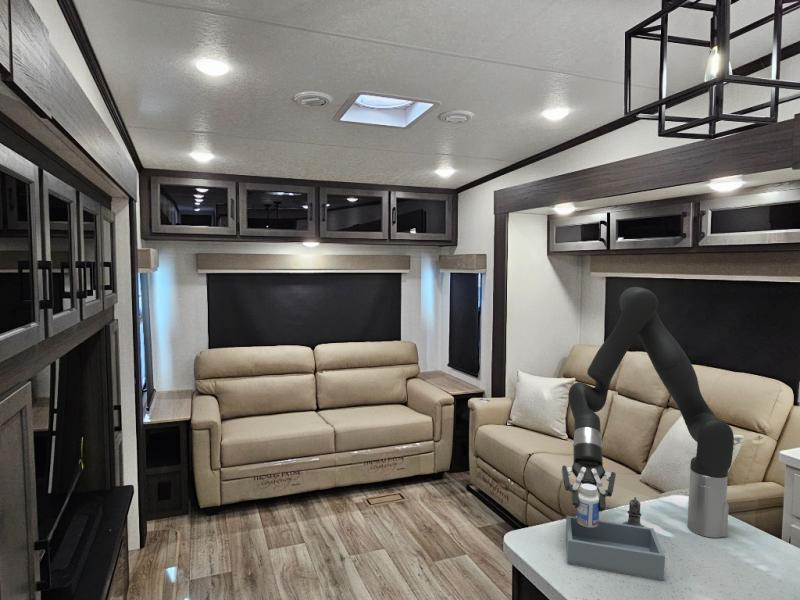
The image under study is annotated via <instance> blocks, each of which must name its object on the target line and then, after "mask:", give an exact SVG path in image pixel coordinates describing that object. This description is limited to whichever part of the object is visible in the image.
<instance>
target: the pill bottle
mask: <svg viewBox="0 0 800 600" xmlns="http://www.w3.org/2000/svg"><path fill="white" fill-rule="evenodd" d="M576 517H577V522H578V523H579V524H580V525H582V526H585V527H591V528H593V527H597V526H598V524H599V520H600V511H599V494H598V491H597V487H596V486H594V485H592V484H582V483H581V485H580V492H578V508H576Z"/></svg>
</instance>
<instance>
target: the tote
mask: <svg viewBox="0 0 800 600" xmlns="http://www.w3.org/2000/svg"><path fill="white" fill-rule="evenodd" d="M565 523H566V524H565V547H566V561H567V562H566V563H567V565H572V566H577V567H584V568H589V569H596V570H599V571H600V570H601V571H607V572H613V573H618V574H624V575H629V576H630V575H631V576H634V577H635V576H636V577H642V578H648V579H653V580H659V581H664V580H665V568H666V567H665V563H666V555H665V553H664V549H663V548H662V546H661V543H660V541H659V539H658V536H657V533H656V531H655V528H652V527H648V526H647V527H646V526H644V527H641V526H634V525H627V524H623V523H620V522H612V521H606V520H600V519H599V524H598V526H597V527H593V528H591V527H585V526H582V525H580V524H579V523H578V522H577V516H571V515H566V522H565Z"/></svg>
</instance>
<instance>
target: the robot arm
mask: <svg viewBox="0 0 800 600" xmlns="http://www.w3.org/2000/svg"><path fill="white" fill-rule="evenodd" d="M618 302H619V303H618V304H619V308H620V311H621V313H620V316H619V317H618V318H619V319H618V321H617V323H616V324H615V326H614V329H613V330H612V332H611V333H610V335H609V336H608V337H607V338H606V340H604V341H603V343H602V344H601V346H600V347H599V349H598V350H597V352H596V354H595V356H594V357H593V358H592V359H593V360H592V361H591V362H590V364H589V366H588V369H587V371H586V372H587V373H586V374H587V375H588V376H589V378H591V379H592V380H594V382H595V385H594V386H592V385H588V384H586V383H584V382H581V381H580V382H578V381H576V382H575V383H573V384H572V385H571V386H570V387H569V390H568V397H567V398H568V404H569V406H570V410H571V413H572V417H573V419H574V428H573V429H574V435H573V444H572V447H573V464H572V466H567V465H562V467H561V474H562V479H563V481H562V482H563V485H564V486H563V487H564V489H565V490H566V491H569V492H571V504H572V506H574V508H576V509H577V508H578V494H579V488H581V485H582V484H592V485H594V486H596V487H597V494H598V497H599V513H602V512H603V511H604V510H605V509H606V498H607V497H609V498H610V497H612V495H613V493H614V488H615V481H616V476H617V475H616V472H614V471H611V472H609V471H606V469H605V468H604V466H603V465H604V463H603V462H604V461H603V460H604V459H603V440H602V436H601V435H602V434H601V420H600V416H599V415H598V414H597V413H598V412H600V411H602V410H603V408H604V407H605V406H606V403H607V398H608V393H609V389H610V385H611V382H612V379H613V377H614V375H615V374H616V371H617V370H618V369H619V366H620V365H621V362H622V361H623V360H624V357H625V356H626V353H627V352H628V350H629V349H630V347H631V346H632V344H633V343H634V340H635V339H636V337H639V338H640V340H641V343H642V346H643V347H644V350H645V352H646V354H647V356H648V358H649V360H650V362H651V364H652V366H653V368H654V371H655V372H656V374H657V375H658V377H659V379H660V380H661V382H662V384H663V385H664V388H666V390H667V392H668V393H669V395H670V397H671V398H672V399H673V401H674V402H675V404H676V405H677V407H678V410H679V412H680V414H681V416H682V418H683V422H684V423H685V426H686V428H687V430H688V433H689V435H690V437H691V439H693V441H695V442H696V445H697V446H696V454H695V456H693V457H692V458H691V460H690V468H689V469H690V470H689V484H688V485H689V487H688V505H687V507H688V508H687V522H686V523H687V524H686V525H687V529H689V530H690V531H692V532H694V533H695V534H698V535H700V536H703V537H708V538H716V539H717V538H727V537H728V524H729V506H730V505H729V503H728V502H727V494H728V475H729V470H730V468H731V467H732V464H733V463H732V462H733V453H734V443H735V435H734V431H733V429H732V427H731V426H730V425H729V424H728V423H727V422H726V421H724V420H722V419H720V418H719V417H717V415H715V413H714V412H713V411H712V410H711V408H710V407H709V405H708V404H707V402H706V401H705V399H704V397H703V395H702V393H701V389H700V386H699V381H698V377H697V373H696V370H695V369H694V366H693V365H692V363H691V361H690V359H689V357H688V356H687V354H686V352H685V351H684V350H683V348H682V346H681V345H680V344H679V343H678V341H677V340H676V338H675V337H673V334H671V333H670V331H669V330H668V329H667V328H666V327H665V325H664V324H663V322H662V320H661V317H660V315H659V313H658V312H657V310H658V307H659V299H658V298H657V296H656V294H655V293H654V292H653V291H651V290H650V289H648V288H644V287H640V286H632V287H628V288H626V289H625V290H624V291H623V292H622V293H621V294H620V297H619V301H618ZM571 473H572V474H573V475H574V477H575V481H574V484H573V485H572V484H571V483H570V478H569V477H570V475H571ZM604 476H605V479H606V481H607V482H608V485H607V489H605V487H604V486H603V483H602V479H603V478H604Z"/></svg>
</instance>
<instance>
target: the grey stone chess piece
mask: <svg viewBox="0 0 800 600" xmlns="http://www.w3.org/2000/svg"><path fill="white" fill-rule="evenodd" d="M628 508H629V509H628V511H627V514H628V520H627V521H624V522H622V524H627V525H634V526H641V527H645V526H644V525H642V523H641V517H642V513H641V502H640V501H639V500H637V497H634V498H633V499H630V500H629V505H628Z"/></svg>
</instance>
